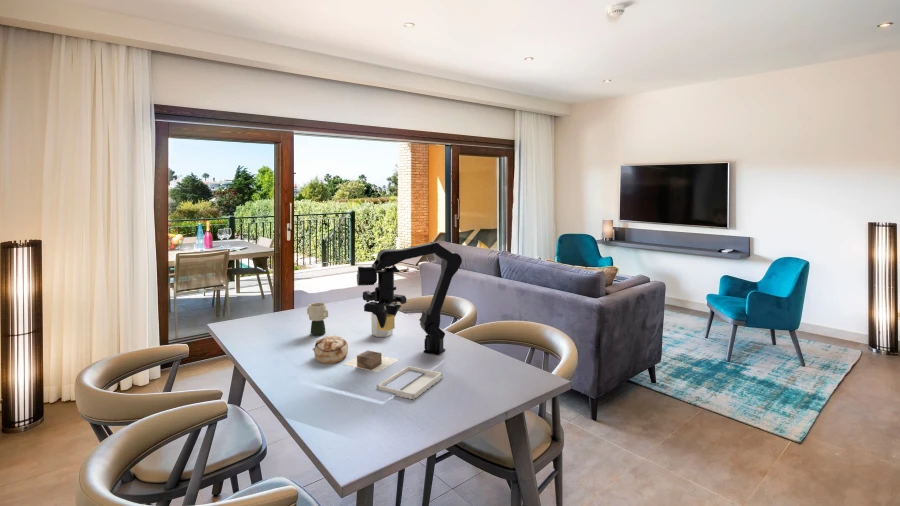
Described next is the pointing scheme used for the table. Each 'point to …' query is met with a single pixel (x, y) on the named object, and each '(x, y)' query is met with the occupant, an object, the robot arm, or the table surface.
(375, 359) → the walnut brick
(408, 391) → the cream rectangular tray
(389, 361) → the building board
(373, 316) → the jar
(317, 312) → the character mug
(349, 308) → the table surface
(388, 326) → the ochre brick
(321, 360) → the trinket box
